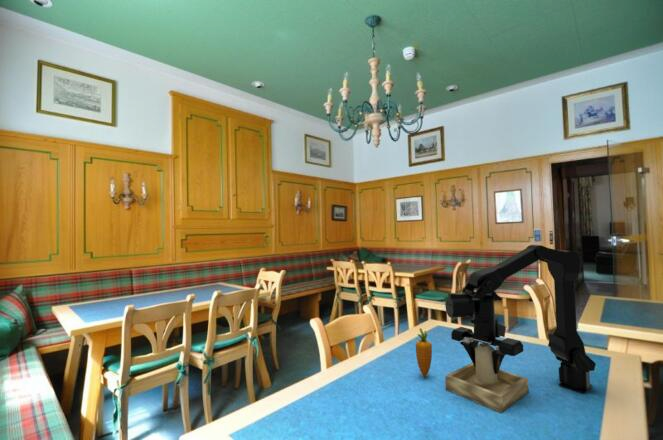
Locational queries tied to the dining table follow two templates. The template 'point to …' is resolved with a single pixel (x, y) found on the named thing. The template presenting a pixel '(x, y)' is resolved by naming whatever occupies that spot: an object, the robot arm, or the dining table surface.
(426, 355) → the carrot
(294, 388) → the dining table surface
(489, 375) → the candle
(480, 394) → the box
